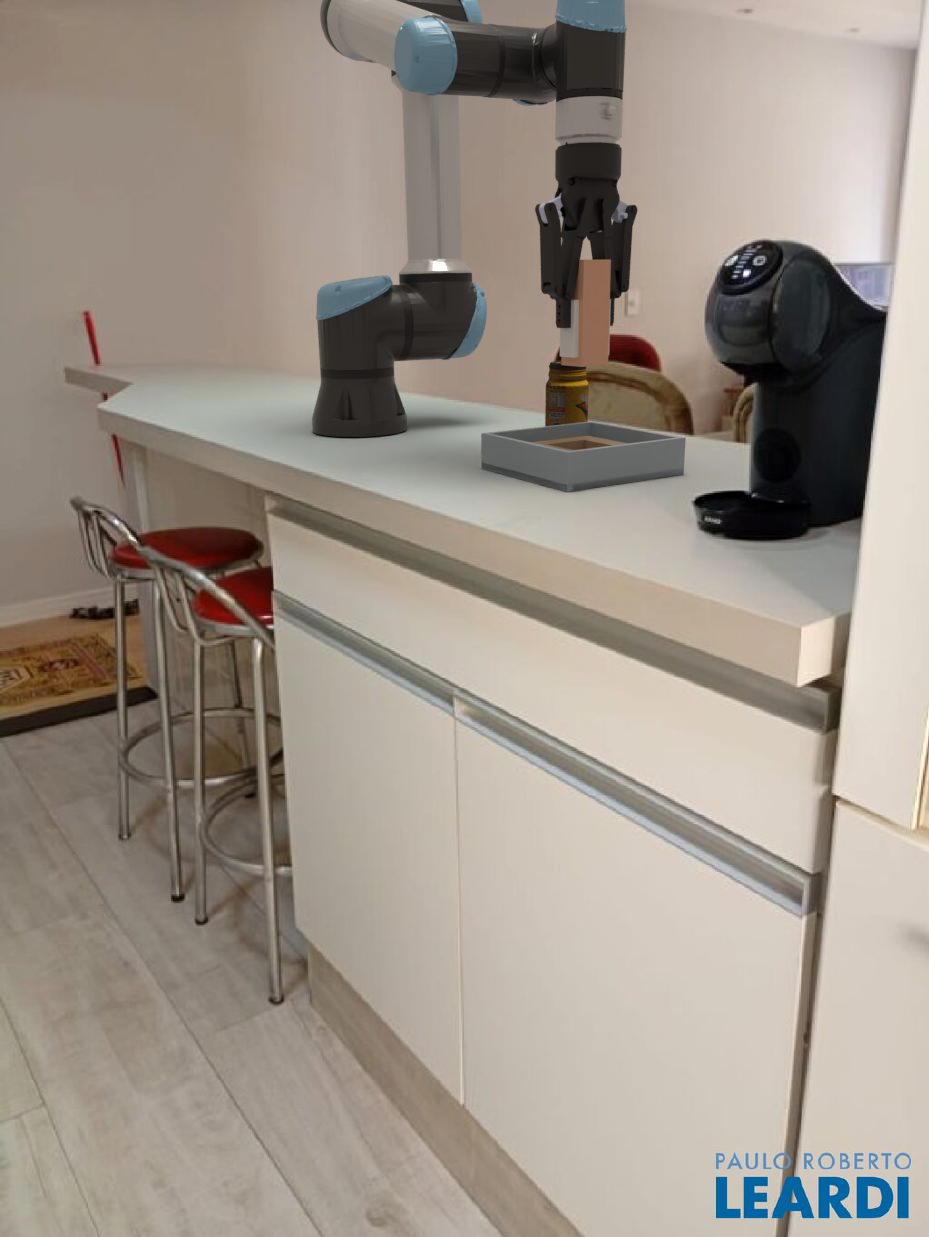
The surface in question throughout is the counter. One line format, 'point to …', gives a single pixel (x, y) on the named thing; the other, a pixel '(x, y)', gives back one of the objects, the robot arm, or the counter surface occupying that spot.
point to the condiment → (566, 395)
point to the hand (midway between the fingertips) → (584, 355)
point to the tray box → (582, 455)
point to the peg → (592, 313)
